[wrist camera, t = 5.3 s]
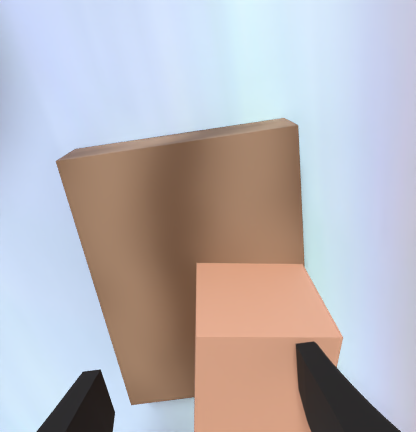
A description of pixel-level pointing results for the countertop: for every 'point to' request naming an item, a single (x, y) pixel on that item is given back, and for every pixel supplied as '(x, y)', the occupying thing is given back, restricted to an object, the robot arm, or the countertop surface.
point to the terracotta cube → (255, 345)
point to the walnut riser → (179, 233)
